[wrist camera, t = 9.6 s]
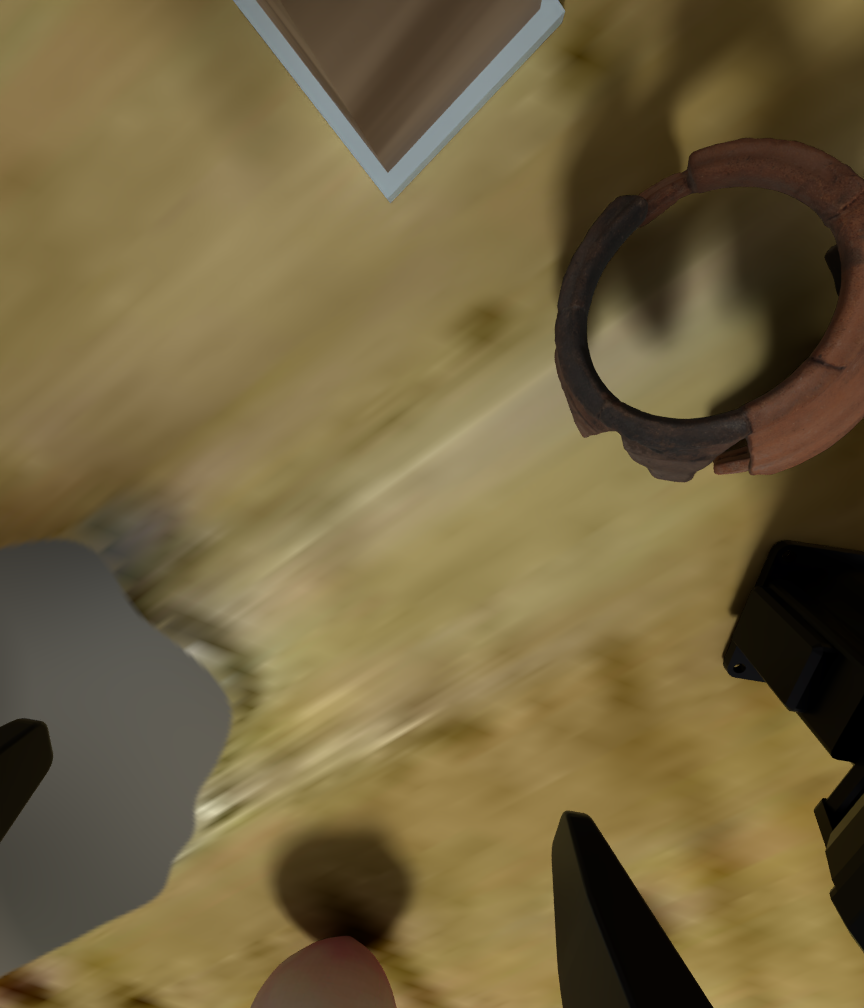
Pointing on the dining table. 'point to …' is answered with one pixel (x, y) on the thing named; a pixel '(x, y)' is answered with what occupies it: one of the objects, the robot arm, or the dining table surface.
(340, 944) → the decorative fruit
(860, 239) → the brown curved piece
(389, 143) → the walnut block
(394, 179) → the slate-blue tile
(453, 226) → the dining table surface
